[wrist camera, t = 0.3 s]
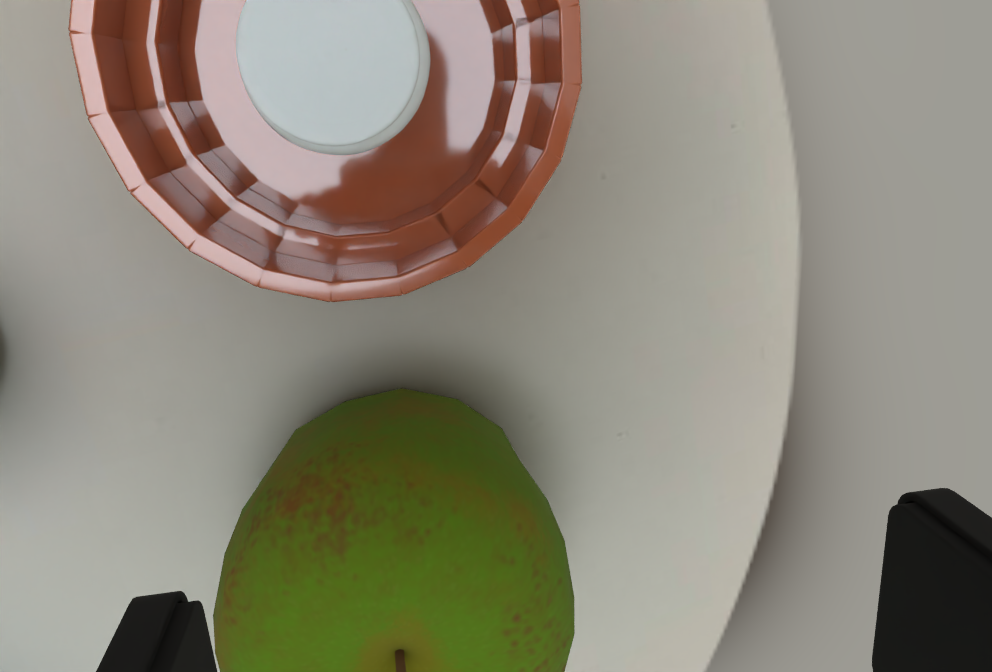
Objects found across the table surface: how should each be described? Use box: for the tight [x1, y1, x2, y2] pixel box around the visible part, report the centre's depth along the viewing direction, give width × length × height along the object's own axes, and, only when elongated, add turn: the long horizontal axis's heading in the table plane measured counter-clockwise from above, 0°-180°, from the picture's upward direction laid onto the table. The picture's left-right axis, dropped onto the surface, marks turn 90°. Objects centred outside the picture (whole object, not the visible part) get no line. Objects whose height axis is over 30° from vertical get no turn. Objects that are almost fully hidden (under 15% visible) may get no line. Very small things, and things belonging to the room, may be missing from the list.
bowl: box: [68, 0, 582, 302], centre depth 23 cm, size 13×13×5 cm
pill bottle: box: [236, 0, 430, 155], centre depth 21 cm, size 5×5×8 cm
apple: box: [213, 388, 574, 672], centre depth 25 cm, size 11×11×11 cm
